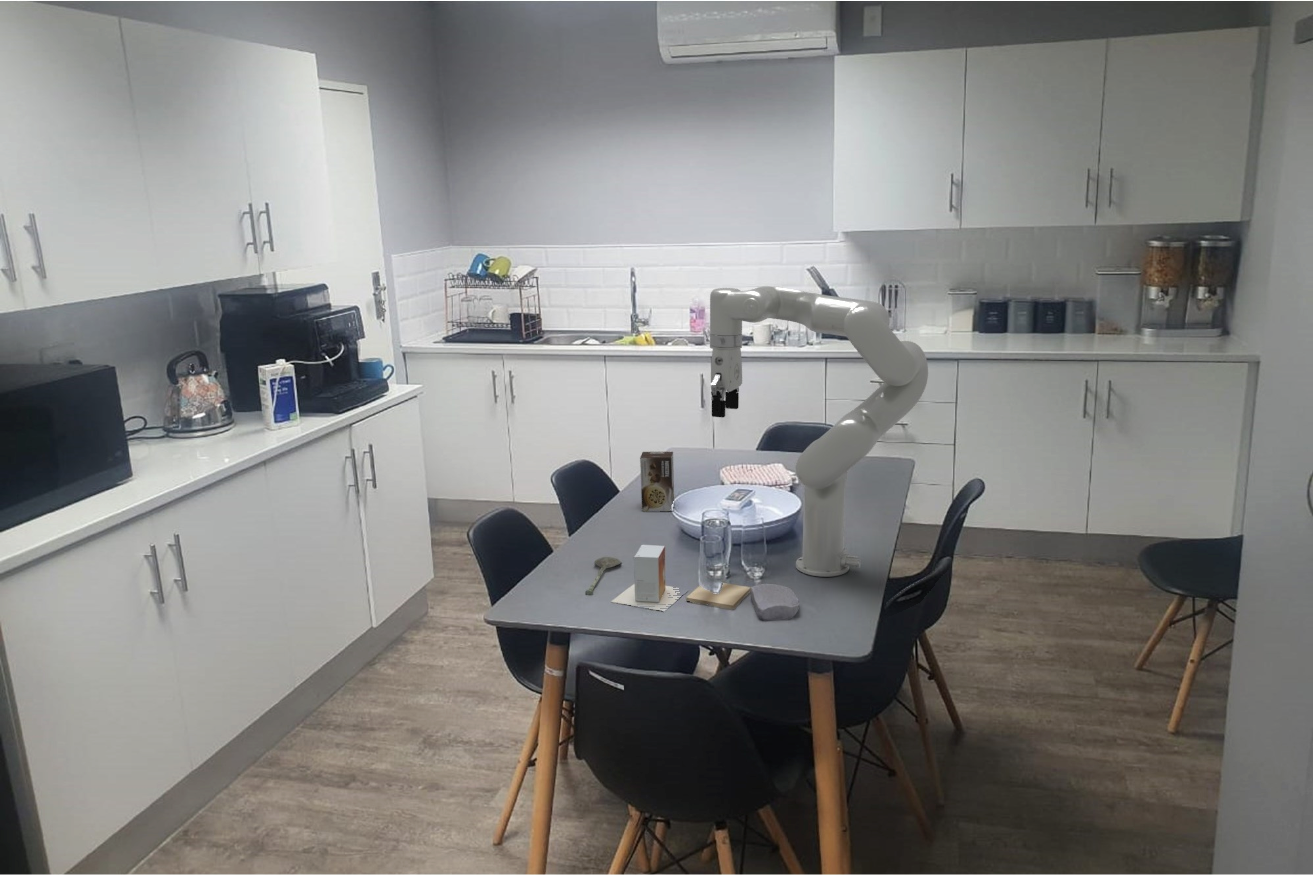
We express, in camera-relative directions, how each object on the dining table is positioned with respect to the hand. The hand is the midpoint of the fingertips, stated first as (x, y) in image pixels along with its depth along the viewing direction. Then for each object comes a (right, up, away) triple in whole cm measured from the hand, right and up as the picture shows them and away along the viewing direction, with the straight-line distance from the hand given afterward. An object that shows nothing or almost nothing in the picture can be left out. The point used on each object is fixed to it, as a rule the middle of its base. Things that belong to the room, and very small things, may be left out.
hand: (725, 412), depth 235 cm
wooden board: (-3, -41, -16) cm, 45 cm away
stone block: (+9, -43, -23) cm, 50 cm away
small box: (-18, -41, -16) cm, 48 cm away
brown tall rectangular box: (-16, -26, +46) cm, 56 cm away
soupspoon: (-30, -39, -4) cm, 49 cm away
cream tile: (-18, -41, -16) cm, 48 cm away
